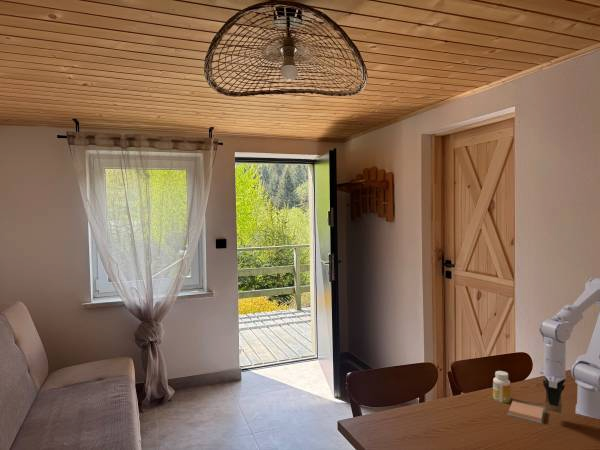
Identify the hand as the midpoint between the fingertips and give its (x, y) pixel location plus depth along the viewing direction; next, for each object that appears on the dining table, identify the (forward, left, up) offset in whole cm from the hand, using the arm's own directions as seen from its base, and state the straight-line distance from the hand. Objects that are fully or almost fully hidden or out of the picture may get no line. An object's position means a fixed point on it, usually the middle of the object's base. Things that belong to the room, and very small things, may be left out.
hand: (554, 402), depth 127 cm
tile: (+8, -4, -5) cm, 10 cm away
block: (0, 0, -2) cm, 2 cm away
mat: (+8, -2, -6) cm, 10 cm away
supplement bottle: (+16, -7, -7) cm, 18 cm away
